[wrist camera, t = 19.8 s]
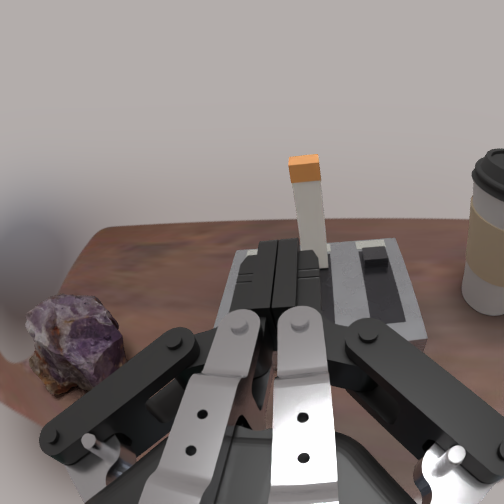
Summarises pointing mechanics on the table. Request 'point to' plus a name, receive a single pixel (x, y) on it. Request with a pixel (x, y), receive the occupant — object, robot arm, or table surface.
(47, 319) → the rock
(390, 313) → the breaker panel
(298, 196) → the orange-capped grey post
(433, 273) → the table surface
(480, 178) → the coffee cup
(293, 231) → the table surface
